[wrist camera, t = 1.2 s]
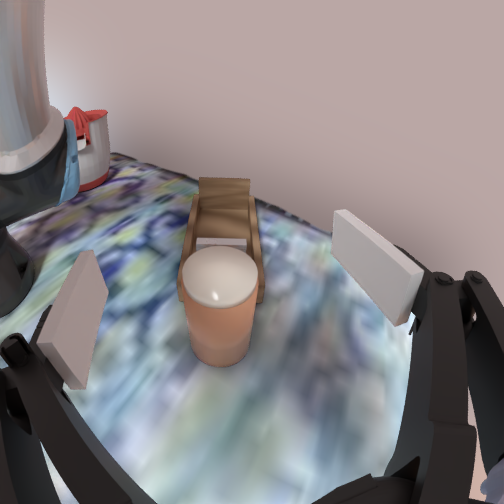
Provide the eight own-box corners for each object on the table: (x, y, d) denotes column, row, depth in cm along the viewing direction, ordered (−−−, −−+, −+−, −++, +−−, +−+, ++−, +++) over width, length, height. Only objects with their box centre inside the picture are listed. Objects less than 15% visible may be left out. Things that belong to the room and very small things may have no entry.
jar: (179, 349, 31) (163, 279, 23) (210, 309, 36) (208, 236, 28) (231, 377, 29) (235, 315, 21) (259, 332, 34) (272, 261, 26)
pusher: (243, 284, 38) (246, 245, 34) (198, 283, 37) (196, 244, 33) (242, 277, 39) (246, 238, 35) (199, 276, 38) (196, 237, 34)
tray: (261, 303, 37) (268, 265, 33) (179, 301, 36) (173, 262, 32) (252, 211, 54) (255, 179, 49) (194, 210, 53) (193, 177, 48)
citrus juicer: (57, 208, 51) (37, 124, 38) (60, 178, 61) (48, 110, 48) (119, 189, 57) (109, 104, 44) (112, 163, 68) (104, 95, 55)
